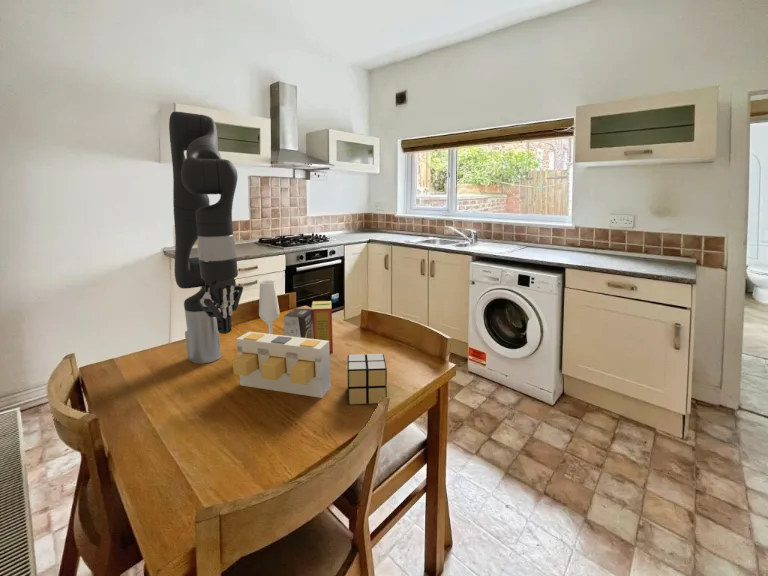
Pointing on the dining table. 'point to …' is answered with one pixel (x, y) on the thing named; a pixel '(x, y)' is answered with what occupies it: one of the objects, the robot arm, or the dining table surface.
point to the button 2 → (273, 368)
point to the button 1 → (245, 364)
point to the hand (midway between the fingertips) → (225, 332)
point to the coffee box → (299, 323)
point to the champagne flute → (268, 303)
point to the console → (287, 362)
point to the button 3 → (302, 372)
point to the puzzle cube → (366, 378)
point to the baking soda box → (322, 321)
